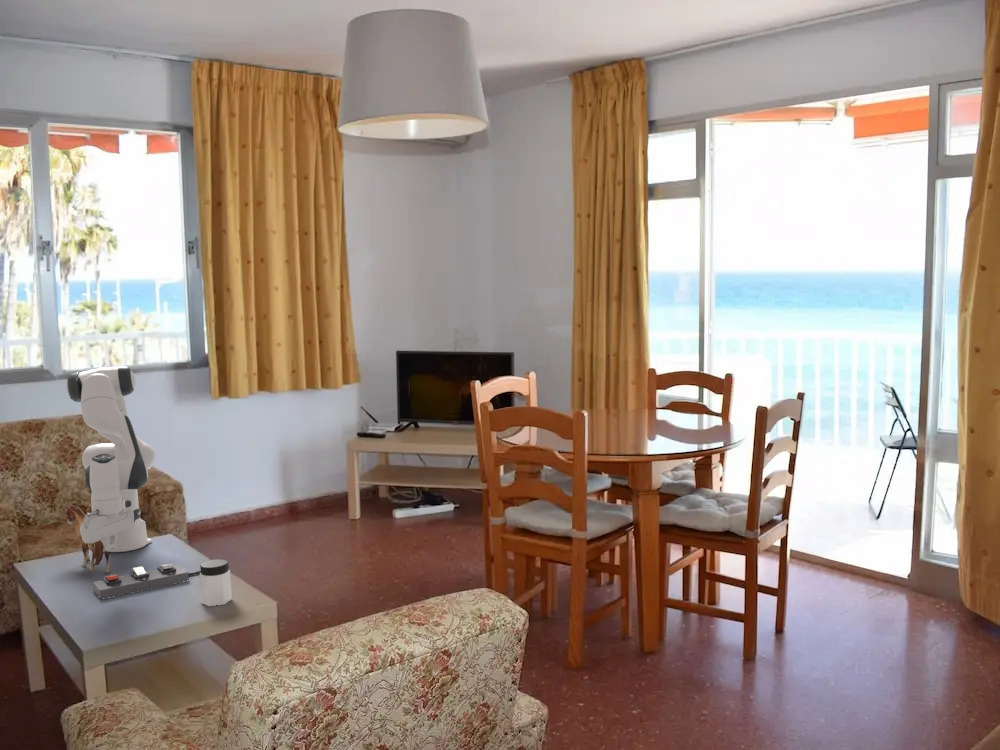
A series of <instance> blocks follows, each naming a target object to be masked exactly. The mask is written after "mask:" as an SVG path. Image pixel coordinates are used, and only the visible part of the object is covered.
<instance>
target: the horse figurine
mask: <svg viewBox="0 0 1000 750" xmlns="http://www.w3.org/2000/svg"><path fill="white" fill-rule="evenodd" d="M64 508H65V509H66V511H65V514H66V516H67V521H66V523H67V524H68V525H70V526H71V525H73V524H74V521H75V520H76V525H75V531H74V532H75V534H76V537H77V538H78V541H79V543H80V544H81V551H82V553H83V562H82V564H81V567H83V566H84V567H87V561H90V563H89V572H90V573H93V572H94V571H95V569H94V568H95V566H99V565H100V564H101V562H102V560H103V557H105V561H106V562H105V563H106V564H105V567H106V568H105V570H104V573H105V574H107V573H110V572H111V571H110V563H109V559H110V553H109V552H108V551H105V550H104V552H103V549H104V545H103V543H102V542H101V540H100V541H97V542H95V543H84V542H83V541H82V524H83V519H84V518H85V516H86V513H84V511H83V509H81V508H80V507H79V506H78V505H77V506H76V505H74V504H68V506H67V505H64ZM90 552H91V553H92V555H91V558H90V555H89V553H90ZM90 559H91V560H90Z"/></svg>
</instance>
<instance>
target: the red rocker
mask: <svg viewBox="0 0 1000 750" xmlns="http://www.w3.org/2000/svg"><path fill="white" fill-rule="evenodd" d="M104 577H106V580H108V581H113V580H116V579H118V577H119V575H118V574H111V575H105V576H104Z"/></svg>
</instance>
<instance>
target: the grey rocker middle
mask: <svg viewBox="0 0 1000 750" xmlns="http://www.w3.org/2000/svg"><path fill="white" fill-rule="evenodd" d="M133 571H134V573H135V575H136V576H141V575H146V572H145V571H146V569H144V567H143V566H138V567H133V568H132V572H133Z"/></svg>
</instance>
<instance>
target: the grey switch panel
mask: <svg viewBox="0 0 1000 750" xmlns="http://www.w3.org/2000/svg"><path fill="white" fill-rule="evenodd" d="M145 572H146V575H141V576H136V575H135V573H134V571H133V570H132V571H130V574H126V575H122V576H121V575H120V576H118V579H116V580H113V581H108V580H106V577H105V576H104V577H102V580H96V581H93V582H92V584H93V585H92V586H93V592H94V591H95V592H94V593H95V594H96V596H97V595H98V596H99V597H100V598H99V597H98V596H97V597H98V598H99V600H101V599H102V600H104V599H103V598H107V599H109V598H108V597H112V598H114V597H113V596H116V597H119V596H118V595H121V596H123V595H122V594H126V595H129V594H128V593H130V594H133V593H132V592H135V593H138V592H137V591H140V592H142V591H141V590H145V591H148V590H147V589H149V590H152V589H151V588H154V589H158V588H157V587H159V588H162V587H161V586H163V587H167V586H166V585H168V586H171V585H170V584H173V585H175V584H174V583H177V584H180V583H179V582H182V583H184V582H183V581H187V580H189V581H190V579H189V577H191V576H190V575H193V576H195V575H194V574H198V575H199V573H201V570H197V571H193V572H189V571H187V570H186V568H184V567H183V566H182V565H181V564H177V565H173V568H171V569H167V570H163V569H161V568H160V565H159V566H157V569H152V570H147V571H146V570H145ZM187 582H188V581H187Z"/></svg>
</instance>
